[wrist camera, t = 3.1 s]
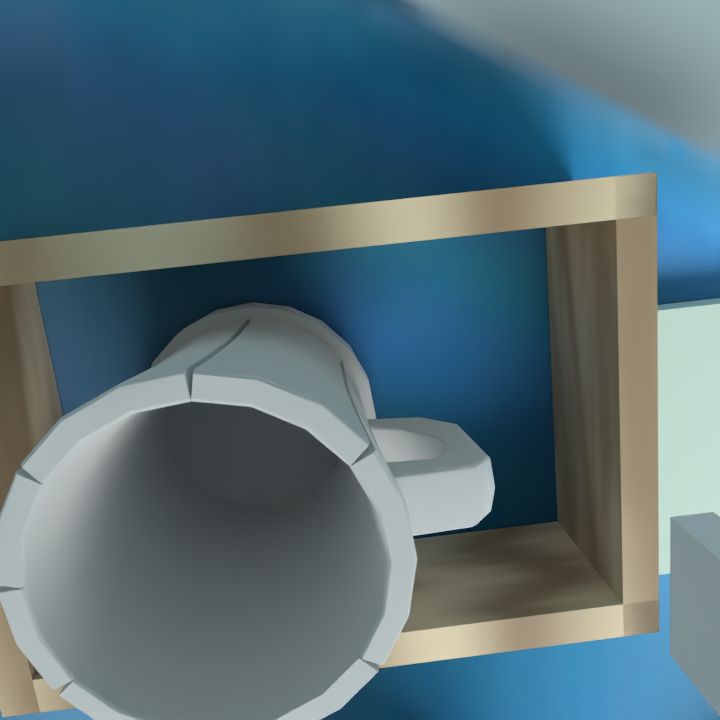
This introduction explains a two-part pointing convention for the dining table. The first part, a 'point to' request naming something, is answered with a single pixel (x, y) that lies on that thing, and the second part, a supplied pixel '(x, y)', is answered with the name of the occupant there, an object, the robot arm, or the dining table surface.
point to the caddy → (569, 393)
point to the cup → (229, 528)
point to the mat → (687, 414)
